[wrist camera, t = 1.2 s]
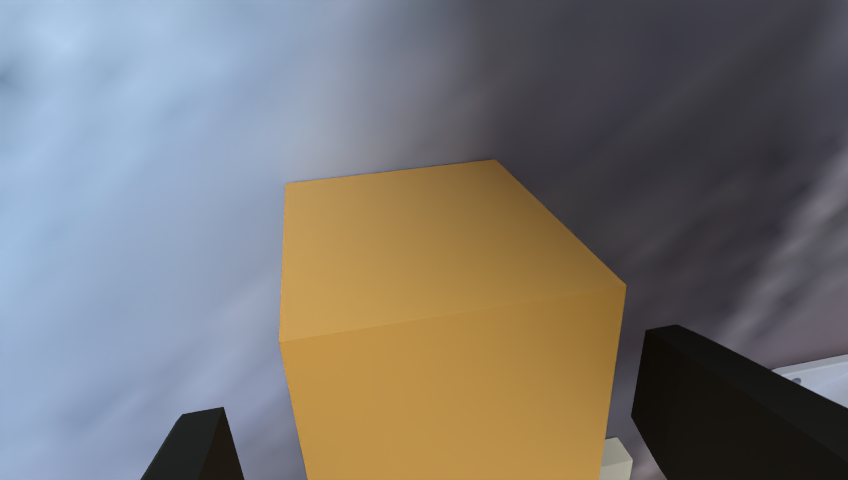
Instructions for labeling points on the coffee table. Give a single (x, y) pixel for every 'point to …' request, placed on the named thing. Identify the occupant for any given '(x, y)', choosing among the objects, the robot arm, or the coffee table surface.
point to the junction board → (615, 461)
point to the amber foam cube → (444, 329)
